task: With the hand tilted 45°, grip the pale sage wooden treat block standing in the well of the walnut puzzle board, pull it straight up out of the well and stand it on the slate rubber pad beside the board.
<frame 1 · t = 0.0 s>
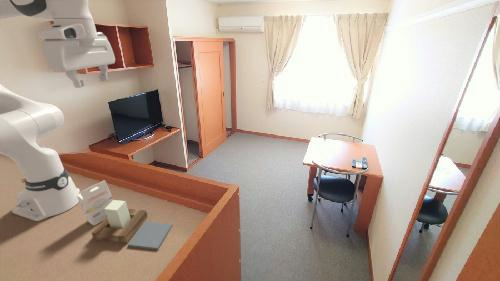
hand: (92, 83, 68), 48 cm above the table, tool pointing down, fingers open, 8 cm apart
slate rubber pad: (151, 235, 77), on the table
walnut puzzle board: (122, 227, 80), on the table
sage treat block: (118, 216, 78), in the walnut puzzle board
ink cartridge box: (102, 217, 85), on the table
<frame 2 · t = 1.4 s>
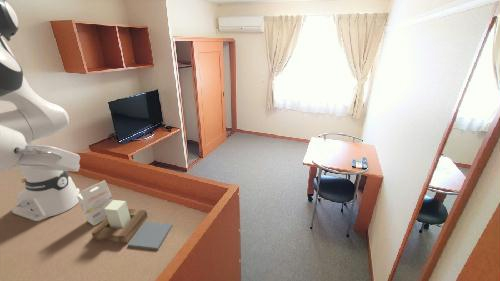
hand: (59, 167, 56), 32 cm above the table, tool tilted 45°, fingers open, 8 cm apart
nothing on the table moved.
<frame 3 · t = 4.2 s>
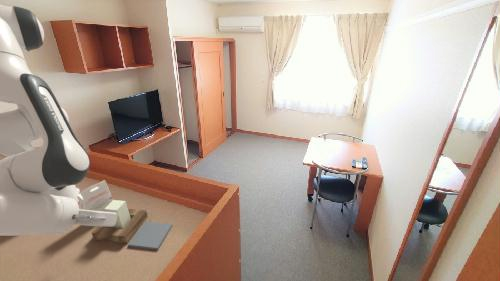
hand: (97, 217, 69), 11 cm above the table, tool tilted 45°, fingers open, 8 cm apart
nothing on the table moved.
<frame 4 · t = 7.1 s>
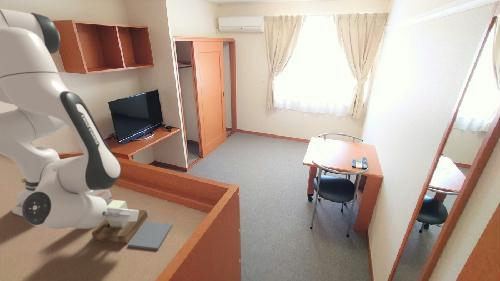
hand: (119, 214, 79), 5 cm above the table, tool tilted 45°, fingers closed on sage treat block, 4 cm apart
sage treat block: (118, 216, 78), in the walnut puzzle board, touching gripper
everything else where it was.
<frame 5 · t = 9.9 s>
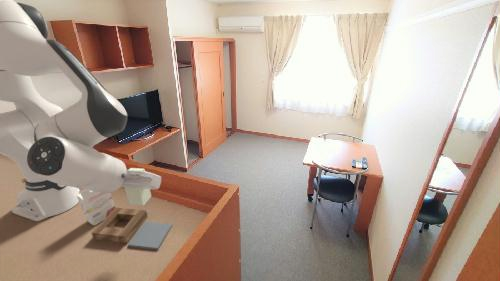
hand: (138, 184, 69), 20 cm above the table, tool tilted 45°, fingers closed on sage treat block, 4 cm apart
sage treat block: (137, 186, 69), point 20 cm above the table, touching gripper
everything else where it was.
when the fingers open (8 cm above the table, at t = 13.0 s): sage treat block drops 1 cm, resting on slate rubber pad.
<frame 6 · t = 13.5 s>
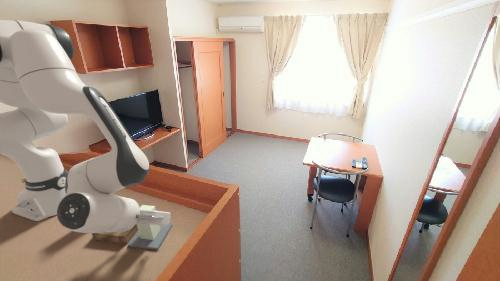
hand: (148, 216, 74), 8 cm above the table, tool tilted 45°, fingers open, 8 cm apart
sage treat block: (147, 222, 74), on the slate rubber pad, point 6 cm above the table
everything else where it was.
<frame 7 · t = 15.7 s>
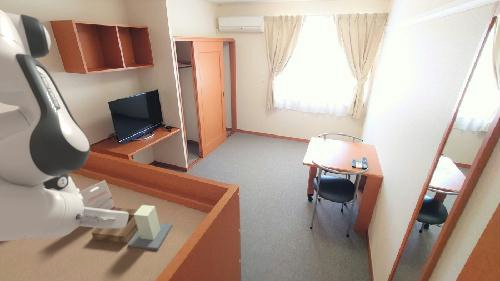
hand: (104, 216, 59), 19 cm above the table, tool tilted 45°, fingers open, 8 cm apart
nothing on the table moved.
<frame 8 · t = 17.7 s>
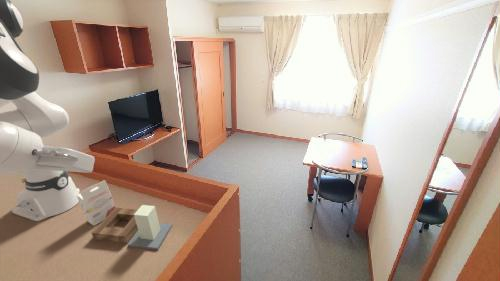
hand: (73, 167, 57), 31 cm above the table, tool tilted 45°, fingers open, 8 cm apart
nothing on the table moved.
at the end: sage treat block inside the target area on the slate rubber pad (0.1 cm from its centre), point 5.8 cm above the slate rubber pad's base; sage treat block tilted 0°; the gripper is holding nothing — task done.
